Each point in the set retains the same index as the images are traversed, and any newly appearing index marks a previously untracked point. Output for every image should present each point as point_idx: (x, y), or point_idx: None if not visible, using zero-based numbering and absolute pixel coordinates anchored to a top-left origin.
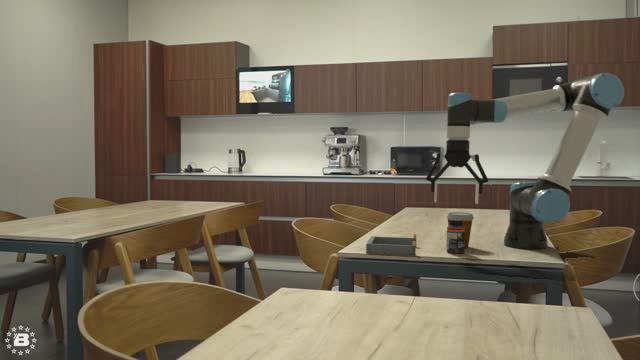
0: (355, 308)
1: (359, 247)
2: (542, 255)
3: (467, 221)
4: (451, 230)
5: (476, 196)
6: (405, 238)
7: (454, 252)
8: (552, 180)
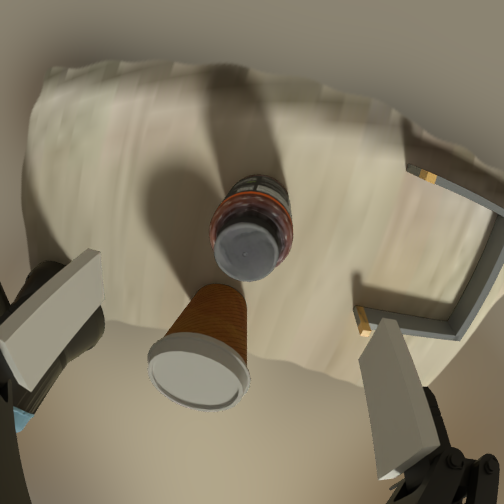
0: None
1: None
2: (41, 180)
3: (176, 332)
4: (280, 206)
5: (68, 277)
6: None
7: (270, 177)
8: None
